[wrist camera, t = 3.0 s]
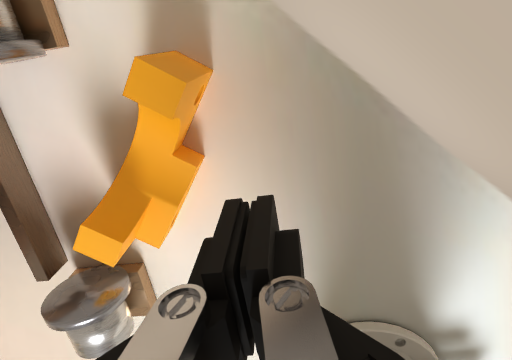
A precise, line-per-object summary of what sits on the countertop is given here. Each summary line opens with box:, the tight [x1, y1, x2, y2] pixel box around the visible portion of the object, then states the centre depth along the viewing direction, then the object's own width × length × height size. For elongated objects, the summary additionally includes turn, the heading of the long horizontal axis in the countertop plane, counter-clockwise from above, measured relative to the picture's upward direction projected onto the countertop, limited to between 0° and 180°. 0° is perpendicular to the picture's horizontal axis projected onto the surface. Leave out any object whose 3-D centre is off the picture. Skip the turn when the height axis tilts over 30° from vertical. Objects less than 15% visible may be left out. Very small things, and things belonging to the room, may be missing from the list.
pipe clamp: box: [73, 51, 213, 268], centre depth 21 cm, size 12×4×6 cm, turn 154°
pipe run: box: [0, 0, 156, 359], centre depth 22 cm, size 8×26×6 cm, turn 9°
